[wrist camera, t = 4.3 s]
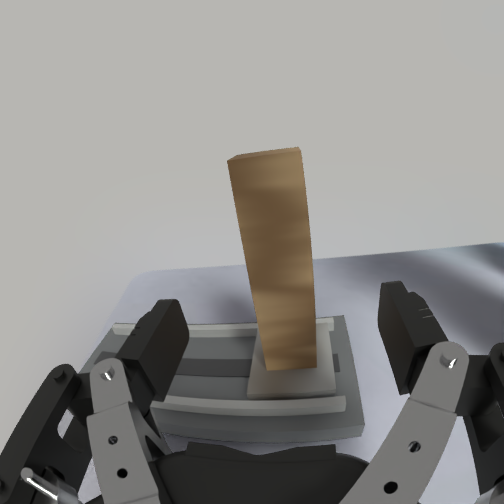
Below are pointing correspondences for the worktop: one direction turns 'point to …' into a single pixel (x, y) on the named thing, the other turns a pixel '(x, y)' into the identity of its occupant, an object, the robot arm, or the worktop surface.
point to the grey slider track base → (245, 389)
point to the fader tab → (281, 278)
